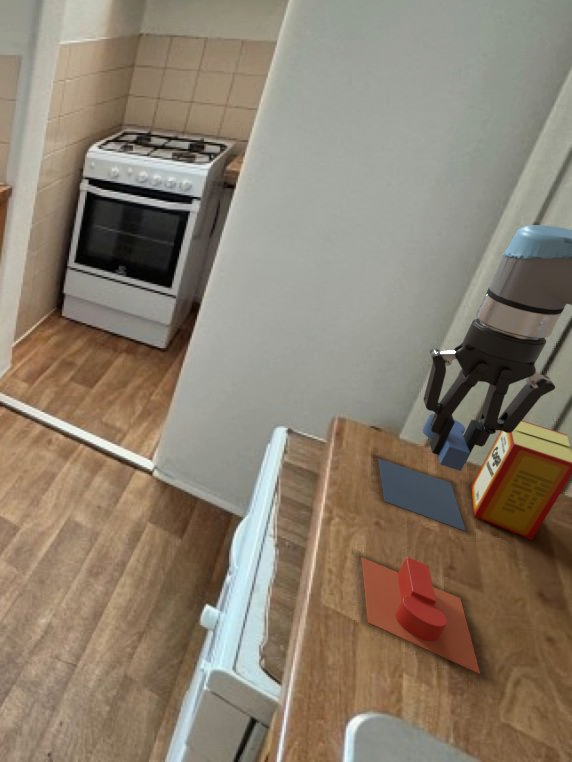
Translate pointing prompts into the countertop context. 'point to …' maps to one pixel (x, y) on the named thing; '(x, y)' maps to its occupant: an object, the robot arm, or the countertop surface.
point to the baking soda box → (522, 478)
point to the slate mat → (420, 494)
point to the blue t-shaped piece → (451, 445)
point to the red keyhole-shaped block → (419, 602)
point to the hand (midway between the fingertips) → (447, 453)
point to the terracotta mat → (381, 613)
